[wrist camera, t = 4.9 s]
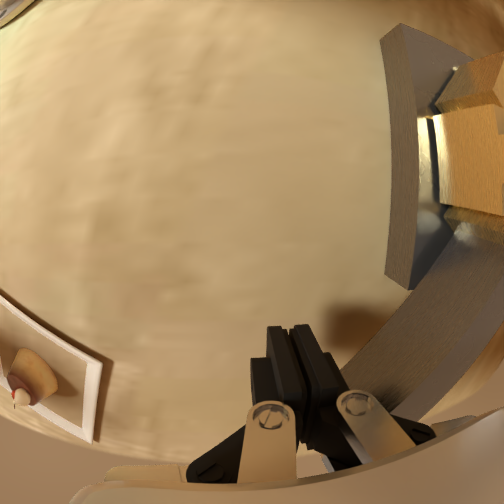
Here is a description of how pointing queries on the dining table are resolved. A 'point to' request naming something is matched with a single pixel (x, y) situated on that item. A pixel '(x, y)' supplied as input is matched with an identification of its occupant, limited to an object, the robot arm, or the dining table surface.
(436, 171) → the housing
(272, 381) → the robot arm
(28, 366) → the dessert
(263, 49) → the dining table surface
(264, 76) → the dining table surface
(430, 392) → the ring nut
